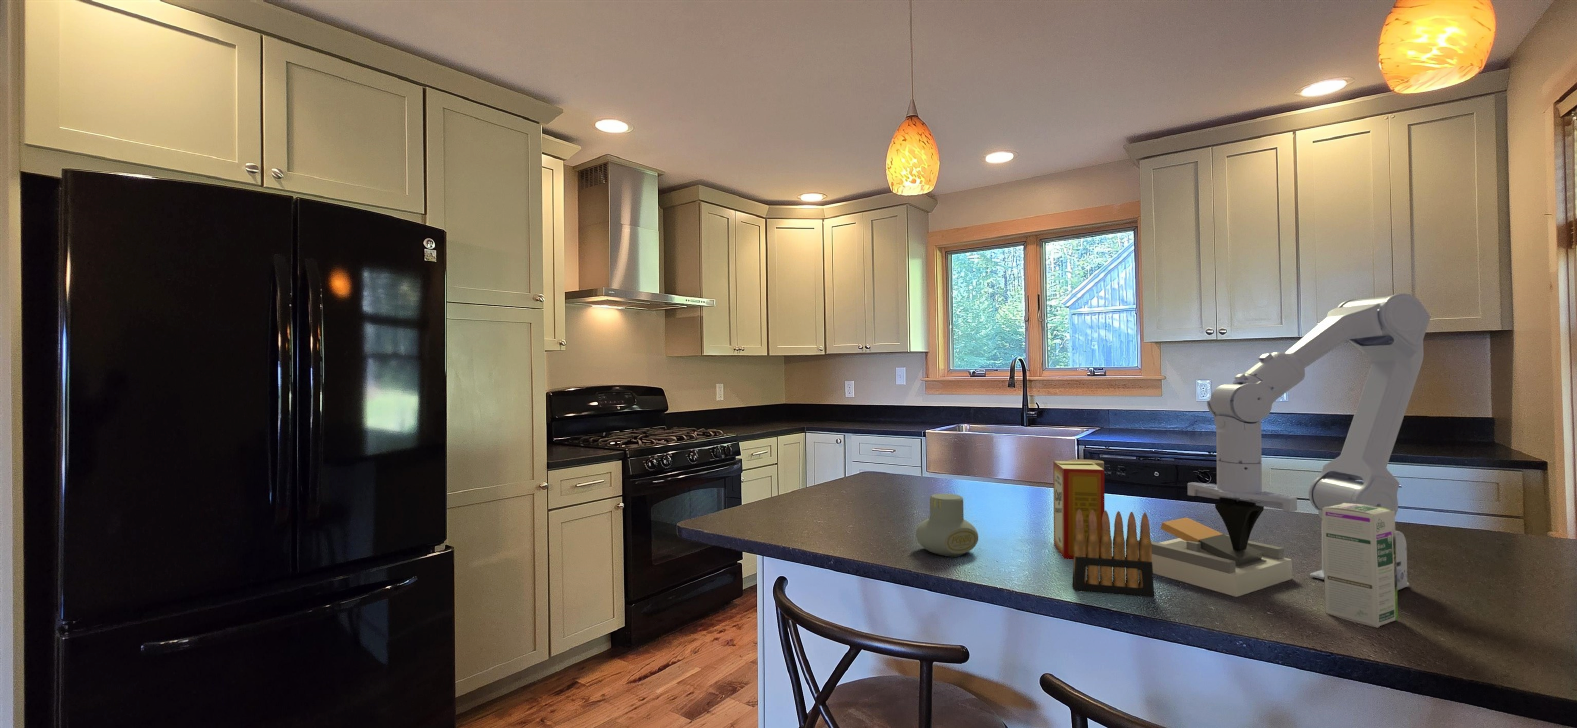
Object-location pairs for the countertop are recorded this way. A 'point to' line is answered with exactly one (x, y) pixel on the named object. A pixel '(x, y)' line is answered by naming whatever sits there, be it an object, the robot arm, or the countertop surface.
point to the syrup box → (1360, 563)
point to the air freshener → (947, 527)
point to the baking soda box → (1076, 501)
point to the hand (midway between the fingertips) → (1239, 549)
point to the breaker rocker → (1210, 540)
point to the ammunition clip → (1113, 557)
